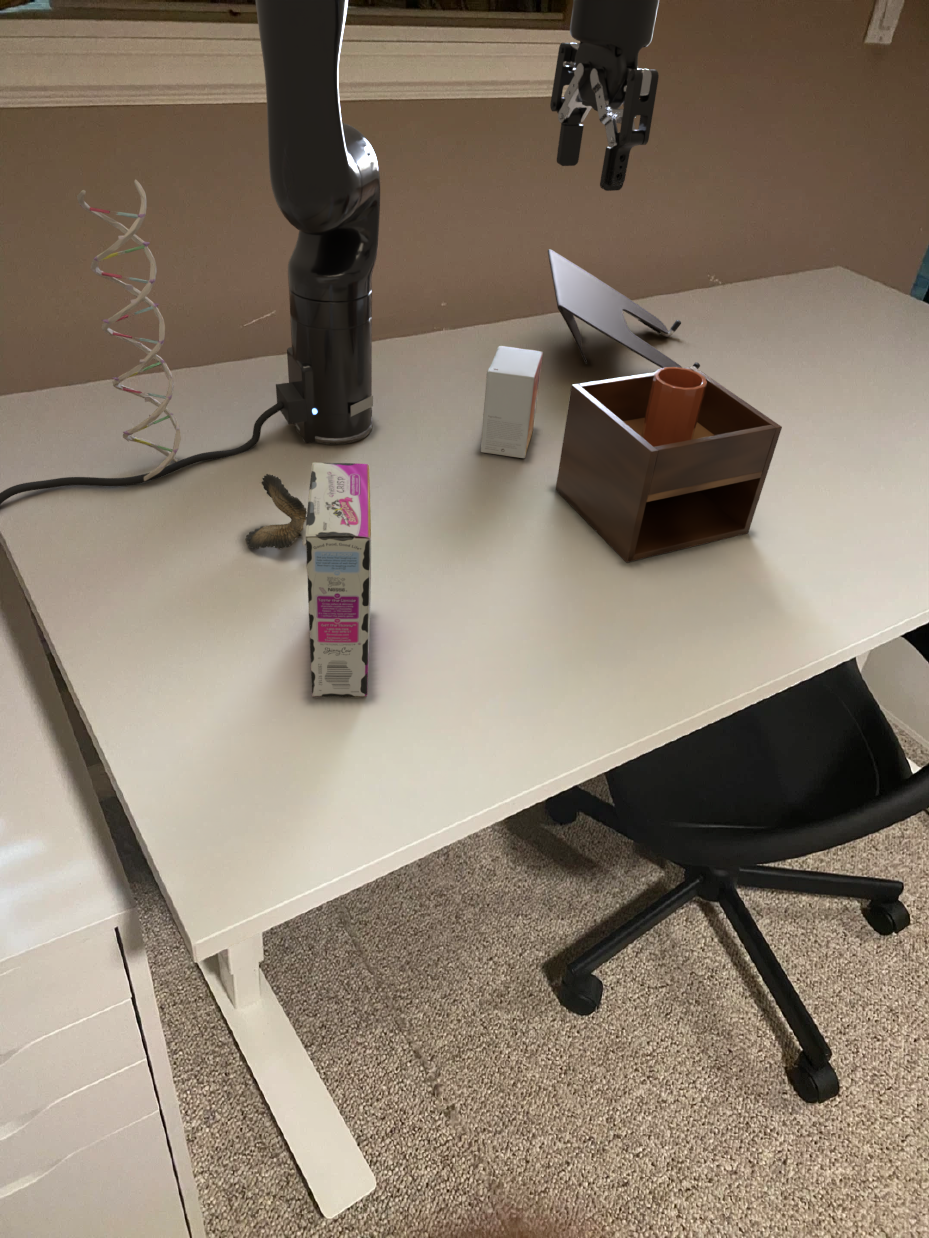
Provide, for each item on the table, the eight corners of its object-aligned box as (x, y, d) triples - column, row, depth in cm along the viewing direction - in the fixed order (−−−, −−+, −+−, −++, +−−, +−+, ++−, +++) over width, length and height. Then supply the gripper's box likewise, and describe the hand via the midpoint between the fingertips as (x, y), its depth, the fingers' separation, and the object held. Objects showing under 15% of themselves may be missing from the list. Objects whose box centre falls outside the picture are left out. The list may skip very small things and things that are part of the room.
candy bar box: (371, 699, 77) (371, 538, 66) (310, 700, 76) (301, 537, 66) (370, 614, 85) (370, 460, 75) (316, 614, 85) (308, 459, 74)
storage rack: (626, 562, 94) (651, 451, 86) (555, 490, 105) (571, 384, 96) (748, 533, 100) (782, 426, 92) (669, 467, 110) (693, 365, 102)
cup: (658, 464, 95) (674, 392, 89) (630, 440, 98) (644, 370, 93) (698, 456, 96) (717, 385, 91) (669, 433, 100) (686, 364, 95)
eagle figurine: (347, 514, 96) (266, 486, 96) (345, 486, 89) (257, 456, 89) (321, 579, 94) (238, 551, 93) (317, 556, 87) (227, 525, 87)
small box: (524, 460, 109) (535, 378, 103) (479, 453, 110) (486, 371, 103) (534, 430, 115) (544, 350, 109) (490, 423, 116) (498, 343, 109)
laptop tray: (664, 428, 131) (706, 376, 126) (529, 349, 124) (568, 291, 119) (642, 360, 149) (677, 313, 144) (523, 288, 141) (556, 236, 136)
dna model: (161, 452, 105) (116, 171, 86) (200, 471, 103) (162, 185, 83) (114, 474, 101) (54, 183, 82) (153, 495, 98) (101, 199, 79)
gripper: (543, -33, 84) (521, 159, 94) (627, -11, 74) (592, 200, 84) (612, -29, 86) (584, 157, 97) (701, -7, 77) (659, 197, 87)
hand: (588, 177), depth 91 cm, fingers open, 8 cm apart
